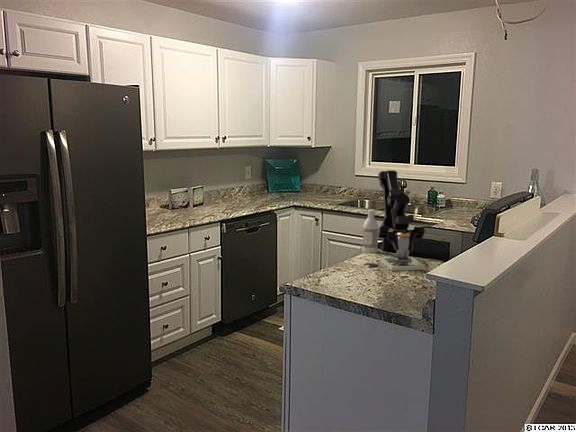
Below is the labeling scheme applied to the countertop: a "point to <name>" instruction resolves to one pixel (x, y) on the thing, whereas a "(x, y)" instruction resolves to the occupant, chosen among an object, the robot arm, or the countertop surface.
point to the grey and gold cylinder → (402, 248)
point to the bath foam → (370, 234)
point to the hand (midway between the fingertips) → (403, 249)
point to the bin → (392, 268)
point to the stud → (371, 265)
